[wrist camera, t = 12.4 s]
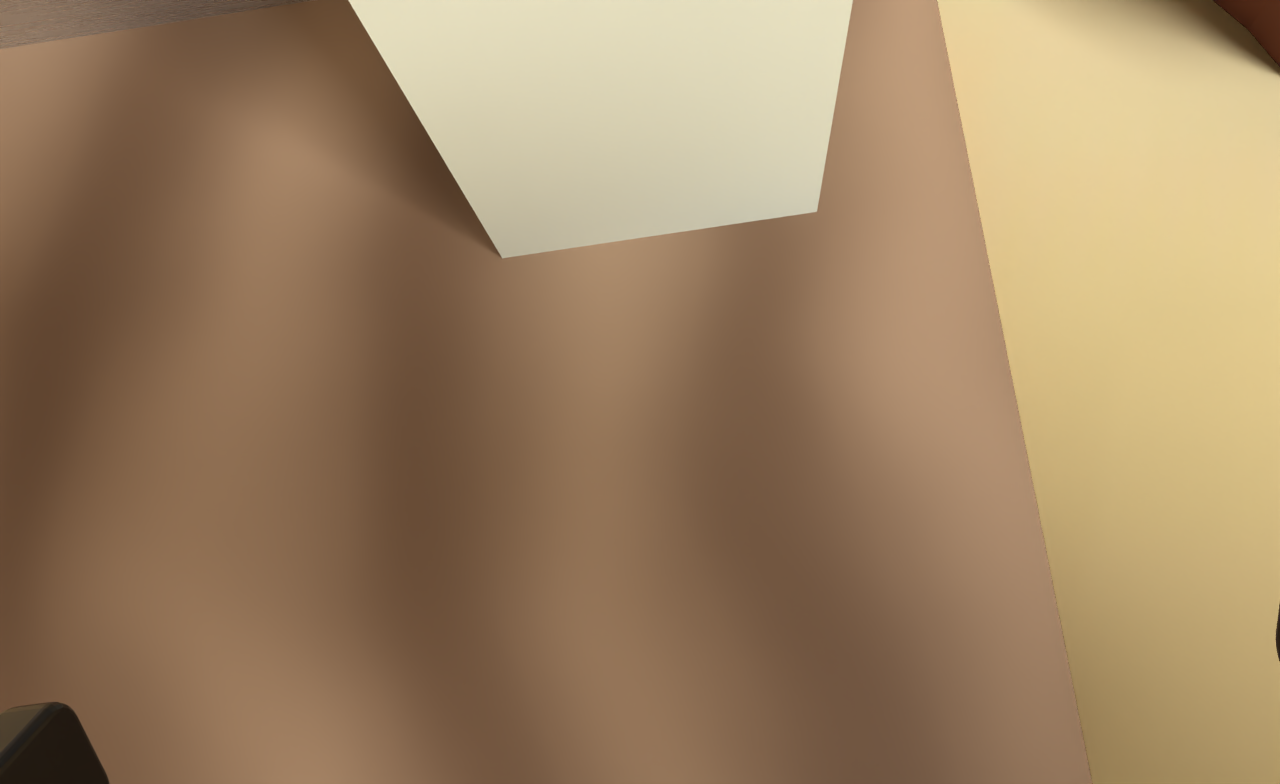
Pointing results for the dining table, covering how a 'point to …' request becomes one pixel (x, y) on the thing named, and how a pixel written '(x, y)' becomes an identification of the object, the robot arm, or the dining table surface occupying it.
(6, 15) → the price rail
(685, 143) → the tea box
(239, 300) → the shelf board
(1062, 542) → the dining table surface
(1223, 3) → the muffin
